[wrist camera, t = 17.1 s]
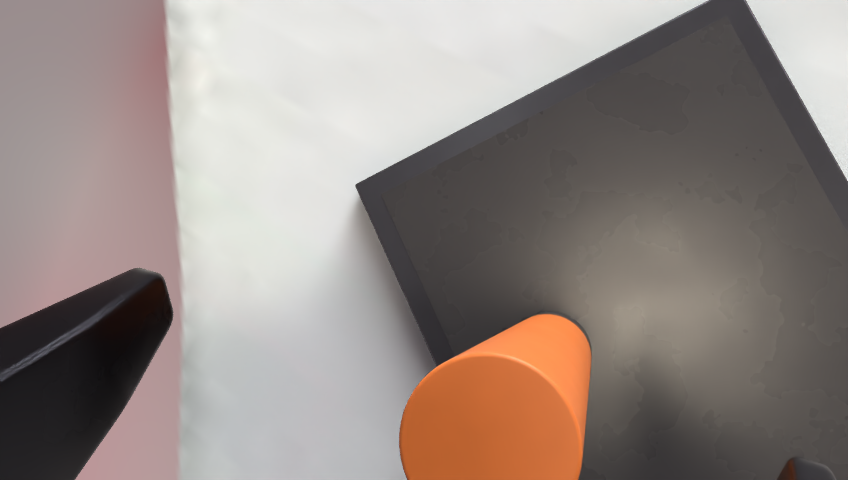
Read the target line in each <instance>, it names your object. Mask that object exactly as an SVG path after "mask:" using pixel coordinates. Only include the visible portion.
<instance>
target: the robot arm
mask: <svg viewBox="0 0 848 480" xmlns="http://www.w3.org/2000/svg"><path fill="white" fill-rule="evenodd" d="M172 320H173V308H172V305H171V301H170V298H169V294H168V290H167V286H166V283H165V280H164V278H163V277H162V275H161V274H159V273H156V272H153V271H149V270H146V269H142V268H135V269H132V270H129V271H127V272H124V273H122V274H120V275H118V276H116V277H113V278H111V279H109V280H107V281H104V282H102V283H100V284H98V285H96V286H93V287H91V288H89V289H87V290H85V291H82V292H80V293H78V294H76V295H73V296H71V297H69V298H67V299H64V300H62V301H60V302H58V303H55V304H53V305H51V306H49V307H47V308H45V309H42V310H40V311H38V312H35V313H33V314H31V315H29V316H27V317H24V318H22V319H20V320H18V321H15V322H13V323H11V324H9V325H7V326H4V327H2V328H0V480H75V479H76V477H77V476H78V474H79V473H80V472H81V470H82V469H83V467H84V466H85V464H86V463H87V462H88V460H89V459H90V457H91V456H92V454H93V453H94V451H95V450H96V448H97V447H98V446H99V444H100V443H101V442H102V440H103V439H104V437H105V436H106V434H107V433H108V431H109V430H110V429H111V427H112V426H113V424H114V423H115V422H116V420H117V418H118V417H119V416H120V414H121V412H122V411H123V409H124V408H125V406H126V405H127V403H128V401H129V400H130V398H131V396H132V394H133V393H134V391H135V389H136V387H137V385H138V384H139V382H140V380H141V378H142V376H143V375H144V373H145V371H146V369H147V367H148V366H149V364H150V362H151V360H152V359H153V357H154V355H155V353H156V351H157V349H158V348H159V346H160V344H161V342H162V340H163V339H164V337H165V335H166V333H167V331H168V330H169V328H170V326H171V323H172ZM776 480H836V478H835V476H834V474H833V473H832V471H831V470H830V469H829V468H828V467H827V466H826V465H824V464H822V463H819V462H815V461H812V460H808V459H805V458H801V457H798V456H794V457H791V458H790V459H789V460H788V461H787V462H786V464H785V465H784V467H783V469H782V471H781V472H780V474H779V476H778V477H777V479H776Z"/></svg>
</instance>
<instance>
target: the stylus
mask: <svg viewBox="0 0 848 480" xmlns="http://www.w3.org/2000/svg"><path fill="white" fill-rule="evenodd" d="M591 360H592V348H591V343H590V340H589V337H588V335H587V333H586V332H585V330H584V329H583V327H582V326H581V325H580V324H579V323H578V322H577V321H575V320H574V319H573V318H571V317H569V316H567V315H565V314H561V313H557V312H543V313H539V314H536V315H533V316H531V317H529V318H528V319H526V320H524V321H522V322H520V323H518V324H516V325H514V326H512V327H510V328H509V329H507V330H505V331H503V332H501V333H499V334H497V335H495V336H493V337H491V338H489V339H488V340H486V341H484V342H482V343H480V344H478V345H476V346H474V347H472V348H470V349H469V350H467V351H465V352H463V353H461V354H459V355H457V356H455V357H453V358H451V359H449V360H448V361H446V362H444V363H442V364H441V365H439V366H437V367H436V368H435V369H433V370H432V371H431V372H429V373H428V374H427V375H426V376H425V377H424V378H423V379H422V380H421V381H420V383H419V384H418V385H417V387H416V388H415V389H414V391H413V393H412V394H411V396H410V398H409V400H408V402H407V404H406V407H405V409H404V412H403V416H402V420H401V425H400V433H399V448H400V456H401V461H402V465H403V469H404V472H405V475H406V477H407V480H578V479H579V475H580V471H581V467H582V458H583V448H584V437H585V426H586V415H587V404H588V393H589V382H590V371H591Z"/></svg>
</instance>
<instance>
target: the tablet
mask: <svg viewBox="0 0 848 480" xmlns="http://www.w3.org/2000/svg"><path fill="white" fill-rule="evenodd" d="M355 186H356V189H357V191H358V193H359V196H360V198H361V200H362V202H363V204H364V207H365V209H366V211H367V213H368V215H369V218H370V220H371V222H372V224H373V227H374V229H375V231H376V233H377V235H378V238H379V240H380V242H381V244H382V247H383V249H384V251H385V253H386V255H387V258H388V260H389V262H390V264H391V267H392V269H393V271H394V273H395V275H396V278H397V280H398V282H399V284H400V286H401V289H402V291H403V293H404V295H405V298H406V300H407V302H408V304H409V306H410V309H411V311H412V313H413V315H414V318H415V320H416V322H417V324H418V326H419V329H420V331H421V333H422V335H423V338H424V340H425V342H426V344H427V346H428V349H429V351H430V353H431V355H432V358H433V360H434V362H435V364H436V366H439V365H441V364H442V363H444V362H446V361H448V360H449V359H451V358H453V357H455V356H457V355H459V354H461V353H463V352H465V351H467V350H469V349H470V348H472V347H474V346H476V345H478V344H480V343H482V342H484V341H486V340H488V339H489V338H491V337H493V336H495V335H497V334H499V333H501V332H503V331H505V330H507V329H509V328H510V327H512V326H514V325H516V324H518V323H520V322H522V321H524V320H526V319H528V318H529V317H531V316H533V315H536V314H539V313H543V312H557V313H561V314H565V315H567V316H569V317H571V318H573V319H574V320H575V321H577V322H578V323H579V324H580V325H581V326H582V327H583V329H584V330H585V332H586V333H587V335H588V337H589V340H590V343H591V348H592V360H591V371H590V382H589V393H588V404H587V415H586V426H585V437H584V448H583V458H582V467H581V471H580V475H579V479H578V480H776V479H777V477H778V476H779V474H780V472H781V471H782V469H783V467H784V465H785V464H786V462H787V461H788V460H789V459H790V458H791V457H794V456H798V457H801V458H805V459H808V460H812V461H815V462H819V463H822V464H824V465H826V466H827V467H828V468H829V469H830V470H831V471H832V473H833V474H834V476H835V478H836V480H848V181H847V179H846V178H845V176H844V174H843V172H842V170H841V169H840V167H839V165H838V163H837V162H836V160H835V158H834V156H833V154H832V153H831V151H830V149H829V147H828V146H827V144H826V142H825V140H824V138H823V137H822V135H821V133H820V131H819V130H818V128H817V126H816V124H815V122H814V121H813V119H812V117H811V115H810V114H809V112H808V110H807V108H806V107H805V105H804V103H803V101H802V99H801V98H800V96H799V94H798V92H797V91H796V89H795V87H794V85H793V83H792V82H791V80H790V78H789V76H788V75H787V73H786V71H785V69H784V67H783V66H782V64H781V62H780V60H779V59H778V57H777V55H776V53H775V51H774V50H773V48H772V46H771V44H770V43H769V41H768V39H767V37H766V36H765V34H764V32H763V30H762V28H761V27H760V25H759V23H758V21H757V20H756V18H755V16H754V14H753V12H752V11H751V9H750V7H749V5H748V4H747V2H746V0H708V1H706V2H704V3H703V4H701V5H699V6H697V7H695V8H693V9H691V10H689V11H687V12H685V13H683V14H681V15H679V16H678V17H676V18H674V19H672V20H670V21H668V22H666V23H664V24H662V25H660V26H658V27H656V28H655V29H653V30H651V31H649V32H647V33H645V34H643V35H641V36H639V37H637V38H635V39H633V40H632V41H630V42H628V43H626V44H624V45H622V46H620V47H618V48H616V49H614V50H612V51H610V52H609V53H607V54H605V55H603V56H601V57H599V58H597V59H595V60H593V61H591V62H589V63H587V64H586V65H584V66H582V67H580V68H578V69H576V70H574V71H572V72H570V73H568V74H566V75H564V76H562V77H561V78H559V79H557V80H555V81H553V82H551V83H549V84H547V85H545V86H543V87H541V88H539V89H538V90H536V91H534V92H532V93H530V94H528V95H526V96H524V97H522V98H520V99H518V100H516V101H515V102H513V103H511V104H509V105H507V106H505V107H503V108H501V109H499V110H497V111H495V112H493V113H492V114H490V115H488V116H486V117H484V118H482V119H480V120H478V121H476V122H474V123H472V124H470V125H469V126H467V127H465V128H463V129H461V130H459V131H457V132H455V133H453V134H451V135H449V136H447V137H445V138H444V139H442V140H440V141H438V142H436V143H434V144H432V145H430V146H428V147H426V148H424V149H422V150H421V151H419V152H417V153H415V154H413V155H411V156H409V157H407V158H405V159H403V160H401V161H399V162H398V163H396V164H394V165H392V166H390V167H388V168H386V169H384V170H382V171H380V172H378V173H376V174H375V175H373V176H371V177H369V178H367V179H365V180H363V181H361V182H359V183H357V184H356V185H355Z"/></svg>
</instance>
